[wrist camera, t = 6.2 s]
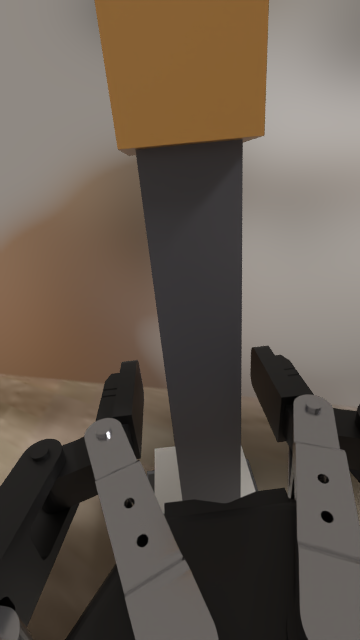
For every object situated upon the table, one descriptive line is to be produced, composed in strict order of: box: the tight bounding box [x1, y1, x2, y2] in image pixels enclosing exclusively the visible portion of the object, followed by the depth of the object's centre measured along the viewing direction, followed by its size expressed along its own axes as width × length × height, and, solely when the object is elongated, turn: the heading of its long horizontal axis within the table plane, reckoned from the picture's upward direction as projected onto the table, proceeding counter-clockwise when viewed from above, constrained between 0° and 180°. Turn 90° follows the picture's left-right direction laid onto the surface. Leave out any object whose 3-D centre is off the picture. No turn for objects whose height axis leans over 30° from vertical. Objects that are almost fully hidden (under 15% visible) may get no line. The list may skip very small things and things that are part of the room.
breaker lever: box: [95, 0, 269, 503], centre depth 11 cm, size 3×3×21 cm
